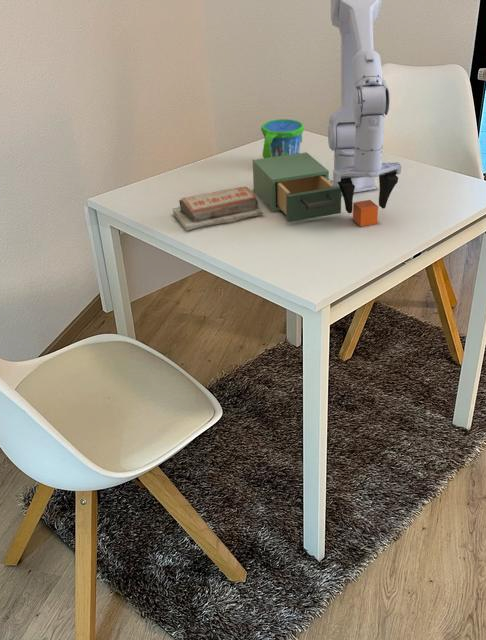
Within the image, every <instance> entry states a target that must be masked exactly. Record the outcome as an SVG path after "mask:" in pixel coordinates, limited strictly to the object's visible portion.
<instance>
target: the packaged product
mask: <svg viewBox="0 0 486 640" xmlns="http://www.w3.org/2000/svg"><path fill="white" fill-rule="evenodd" d="M178 201H179V202H178V203H179V206H178V207H172V208H171V210H172V214H173V216H174V217H175V218H176V219H177V220H178V222H179V223H180V225H182V227H183V228H184V229H185V230H186V231H190V230H194V229H198V228H202V227H207V226H214V225H218V224H224V223H226V224H227V223H234V222H237V221H240V220H244V219H248V218H253V217H258V216H262V215H263V210H261V208H259V200H258V199H257V195H255V192H254V191H252V190H251V189H250V188H249V187H248V186H242V187H241V186H240V187H235V188H229V189H223V190H222V189H221V190H219V191H213V192H207V193H202V194H197V195H192V196H186V197H181V198H180V199H179V200H178Z"/></svg>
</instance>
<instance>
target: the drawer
mask: <svg viewBox="0 0 486 640" xmlns="http://www.w3.org/2000/svg"><path fill="white" fill-rule="evenodd" d="M275 191H276V204H277V205H278V206H279V208H280V209H281V211H282V212H283V213H284V214H285V215H286V217H285V219H286V221H287V222H288V223H289V222H296V221H302V220H309V219H314V218H320V217H327V216H332V215H337V214H341V212H342V195H341V189H340V187H339V186H338V187H334V185H333V184H332V183H331V182H329V181H328V180H327V179H326V178H325V177H324V176H322V175H320V176H314V177H307V178H301V179H294V180H288V181H281V182H275Z"/></svg>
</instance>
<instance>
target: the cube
mask: <svg viewBox="0 0 486 640" xmlns="http://www.w3.org/2000/svg"><path fill="white" fill-rule="evenodd" d="M378 216H379V205H377V204H376V203H375V202H374V201H372V200H371V199H366V200H360V201H353V208H352V221H353V222H354V223H356V224H357V225H358V227H366V226H371V225H378Z"/></svg>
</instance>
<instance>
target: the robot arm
mask: <svg viewBox="0 0 486 640" xmlns="http://www.w3.org/2000/svg"><path fill="white" fill-rule="evenodd" d="M381 8H382V0H330V21H331V25H332V26H333V27H335V28H338V29H339V35H340V107H339V108H338V109H336V110H335V111H334V112H333V113H331V114H330V116H329V118H328V127H327V140H328V141H327V142H328V148H329V149H330V150H331V151H332V152H333V153H334V155H333V156H334V157H333V171H332V179H333V180H330V181H329V182H331V183H332V184H333V185H334V187H338V186H339V187H340V189H341V196H342V197H343V201H344V208H345V211H346V212H347V213H348V214H353V203H354V193H361V192H367V191H372V190H376V189H377V187H376V186H375V185H376V178H378V180H379V181H378V182H379V192H378V207H380V208H381V209H383V210H384V209H386V207H387V203H388V200H389V198H390V195H391V193H392V191H393V190H394V188H395V187H396V185H397V184H398V181H399V176H397V175H401V174H402V168H403V165H402V164H401V163H399V161H397V162H383V153H384V152H383V151H384V136H385V120H386V119H385V118H386V116H387V115H388V114H389V111H390V103H391V102H390V99H391V98H390V89H389V86H388V84H387V80H386V79H384V76H383V75H384V74H383V68H382V59H381V55H380V54H379V53H378V52H377V51H376V50H375V49H374V22H375V20H377V18H378V15H379V12H380V11H381Z"/></svg>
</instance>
